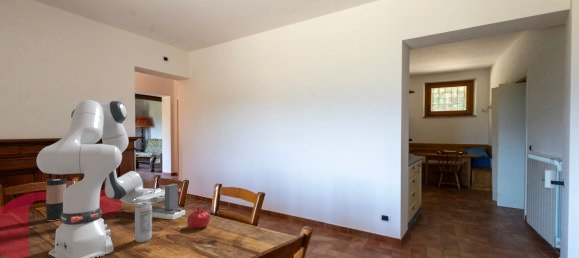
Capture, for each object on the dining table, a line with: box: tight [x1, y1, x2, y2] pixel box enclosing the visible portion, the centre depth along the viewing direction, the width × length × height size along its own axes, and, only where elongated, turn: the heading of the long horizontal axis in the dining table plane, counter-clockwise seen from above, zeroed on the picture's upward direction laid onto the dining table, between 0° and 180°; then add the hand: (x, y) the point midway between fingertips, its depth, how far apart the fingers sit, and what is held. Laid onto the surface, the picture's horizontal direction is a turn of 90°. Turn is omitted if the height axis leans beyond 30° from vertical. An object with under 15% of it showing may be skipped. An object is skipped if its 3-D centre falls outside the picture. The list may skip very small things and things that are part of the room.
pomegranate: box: [186, 206, 211, 230], centre depth 125 cm, size 10×10×9 cm
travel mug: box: [45, 177, 67, 221], centre depth 135 cm, size 8×8×20 cm
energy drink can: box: [134, 201, 153, 244], centre depth 109 cm, size 6×6×15 cm
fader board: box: [152, 205, 186, 220], centre depth 142 cm, size 21×9×3 cm, turn 72°
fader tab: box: [164, 183, 179, 212], centre depth 141 cm, size 5×6×14 cm
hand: (166, 198), depth 142 cm, fingers closed
